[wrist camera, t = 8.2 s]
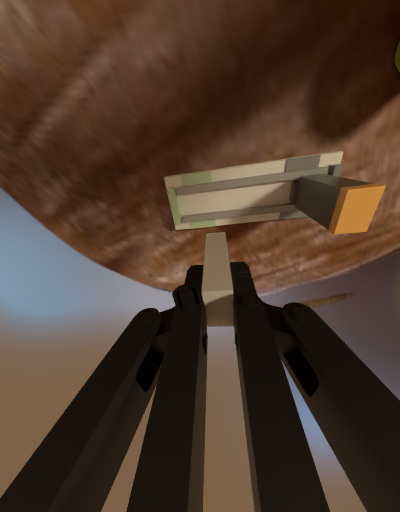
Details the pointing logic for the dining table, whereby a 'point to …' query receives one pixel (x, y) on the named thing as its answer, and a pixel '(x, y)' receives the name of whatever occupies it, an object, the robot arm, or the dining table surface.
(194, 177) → the board
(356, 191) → the handle
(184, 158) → the dining table surface
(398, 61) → the plant pot
